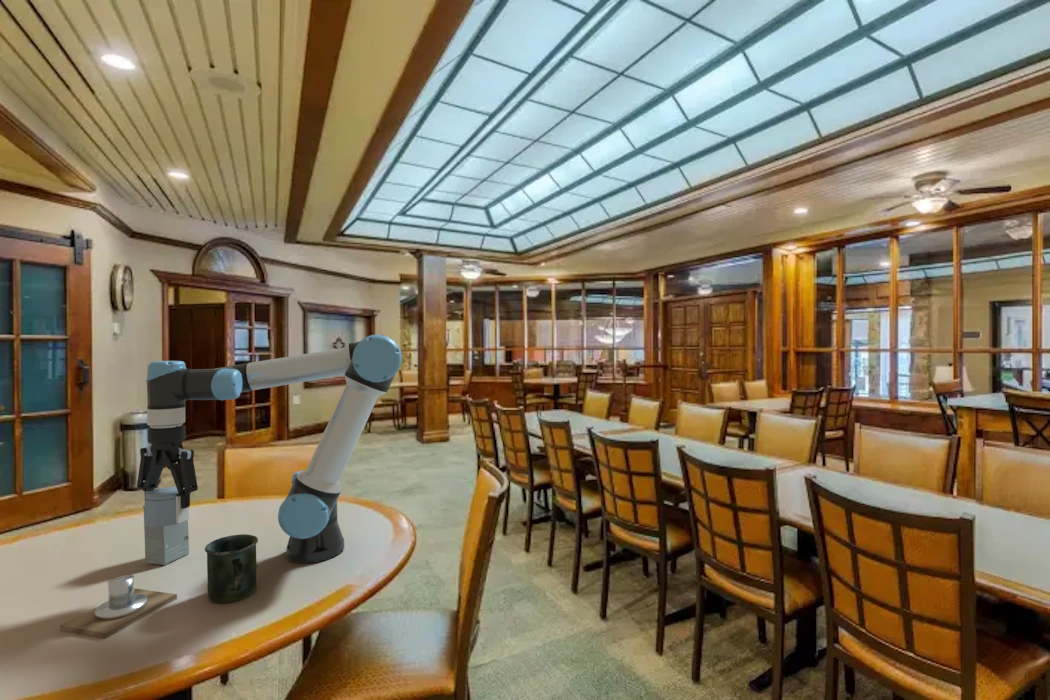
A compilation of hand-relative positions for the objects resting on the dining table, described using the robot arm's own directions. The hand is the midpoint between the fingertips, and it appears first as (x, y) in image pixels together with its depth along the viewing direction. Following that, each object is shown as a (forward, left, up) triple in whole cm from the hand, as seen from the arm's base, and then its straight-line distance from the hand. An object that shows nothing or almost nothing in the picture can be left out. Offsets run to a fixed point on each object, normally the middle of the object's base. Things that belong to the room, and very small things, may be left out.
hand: (167, 519), depth 123 cm
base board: (0, +12, -17) cm, 20 cm away
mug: (-18, 0, -17) cm, 25 cm away
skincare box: (+16, -13, -17) cm, 27 cm away
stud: (0, +12, -17) cm, 20 cm away
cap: (0, 0, 0) cm, 0 cm away
